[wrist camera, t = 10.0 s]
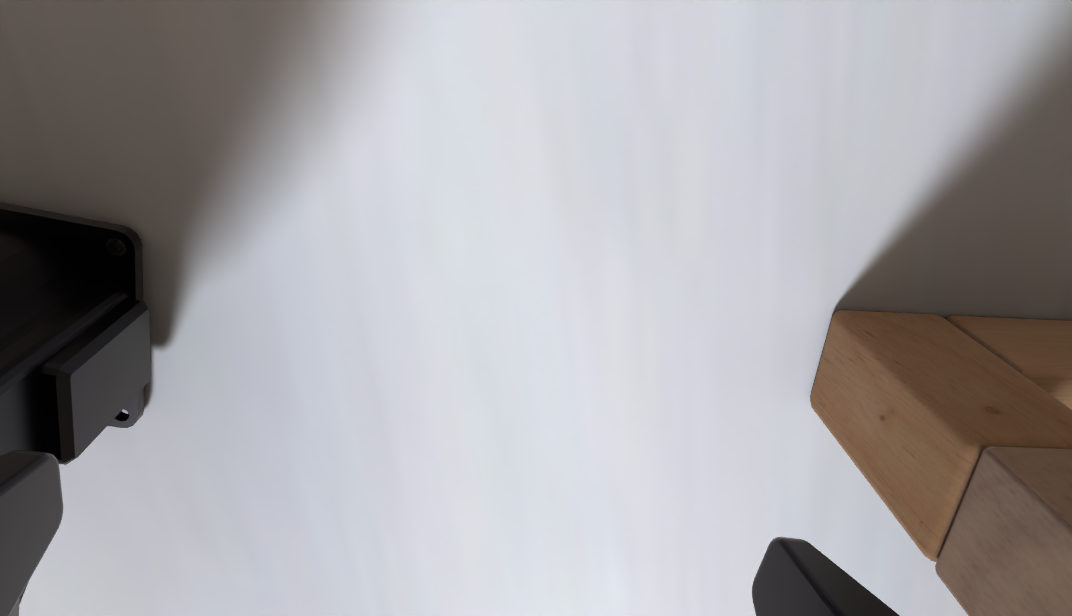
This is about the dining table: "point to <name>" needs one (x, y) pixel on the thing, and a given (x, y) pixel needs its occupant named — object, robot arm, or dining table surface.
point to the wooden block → (963, 445)
